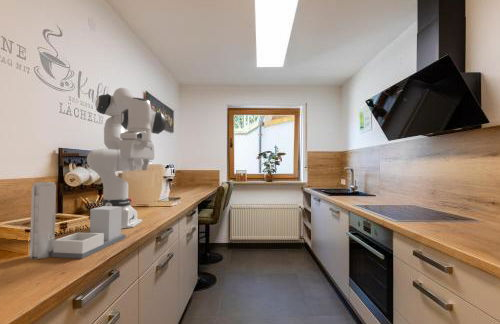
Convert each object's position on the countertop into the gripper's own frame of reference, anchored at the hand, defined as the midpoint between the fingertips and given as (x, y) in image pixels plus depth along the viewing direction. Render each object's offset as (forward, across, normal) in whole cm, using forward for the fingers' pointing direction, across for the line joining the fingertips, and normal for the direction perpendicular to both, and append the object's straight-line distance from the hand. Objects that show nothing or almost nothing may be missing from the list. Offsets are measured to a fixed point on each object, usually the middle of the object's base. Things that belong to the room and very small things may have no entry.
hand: (138, 170), depth 104 cm
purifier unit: (+29, +8, -13) cm, 33 cm away
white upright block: (+29, +20, -22) cm, 42 cm away
